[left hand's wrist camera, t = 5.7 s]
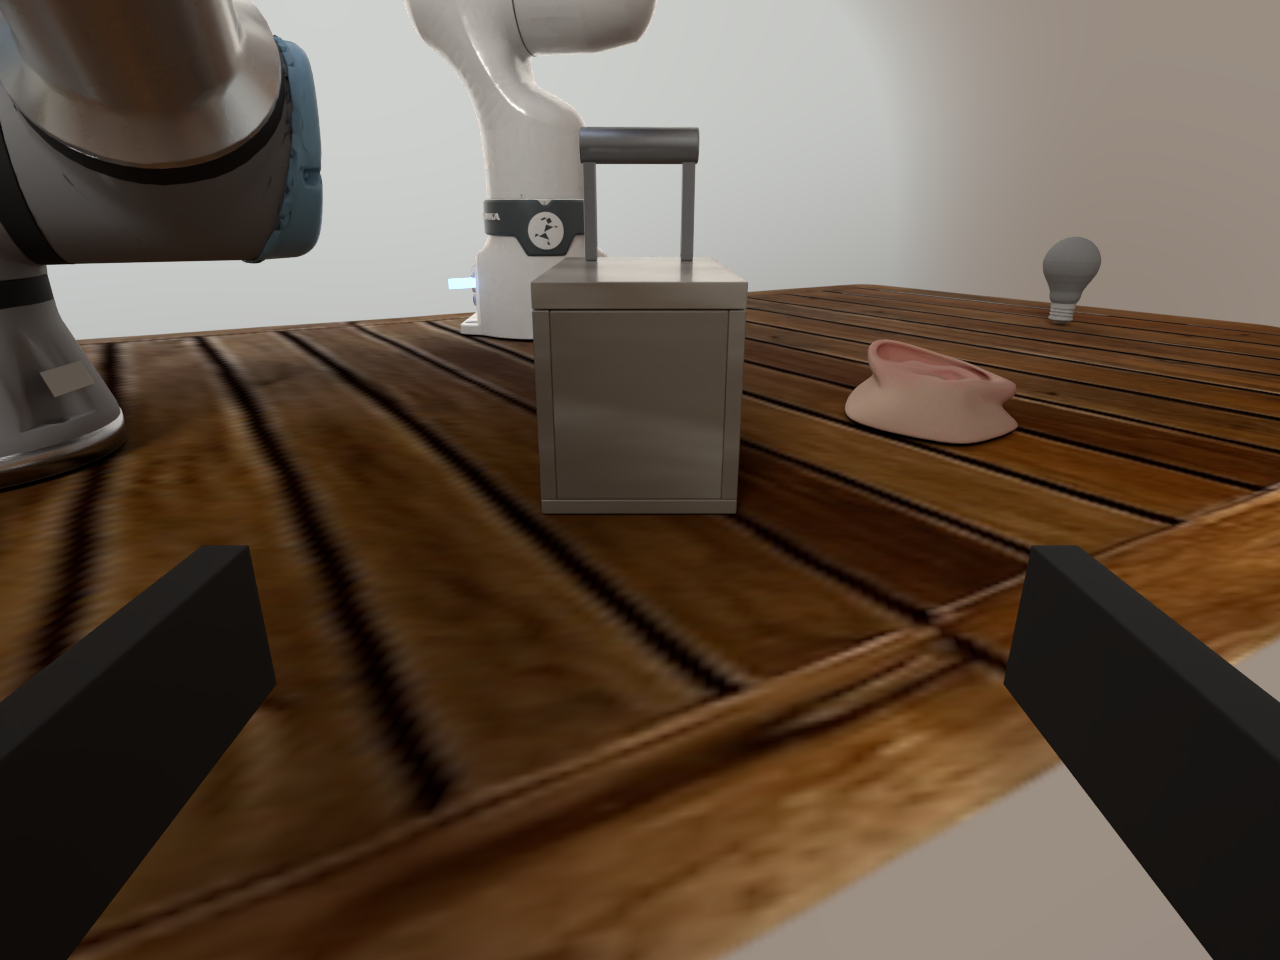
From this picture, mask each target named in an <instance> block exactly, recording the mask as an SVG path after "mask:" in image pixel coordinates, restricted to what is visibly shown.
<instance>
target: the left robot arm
mask: <svg viewBox="0 0 1280 960" xmlns="http://www.w3.org/2000/svg"><path fill="white" fill-rule="evenodd" d="M320 170H321V140H320V128H319V117H318V108H317V100H316V92H315V86H314V81H313V74H312V70H311V66H310V62H309V59H308V57H307V55H306V53H305V52H304V51H303V49H301V48H300V47H299V46H298V45H296V44H295V43H292V42H289V41H284V40H282V39H281V38H279V37H277V36H276V35H274V36H273V35H272V33H271V30H270V28H269V26H268V24H267V22H266V20H265V19H264V17H263V16H262V14H261V13H260V11H259V10H258V8H257V7H256V6H255V5H254V4H253V3H252V2H251V0H0V489H2V488H6V487H11V486H15V485H19V484H23V483H27V482H31V481H35V480H39V479H42V478H46V477H49V476H53V475H56V474H59V473H63V472H66V471H69V470H72V469H75V468H78V467H80V466H83V465H86V464H88V463H91V462H93V461H96V460H98V459H100V458H102V457H104V456H106V455H108V454H110V453H112V452H113V451H115V450H116V449H118V448H119V447H120V446H122V445H123V444H124V443H125V442H126V440H127V438H128V434H127V430H126V426H125V422H124V418H123V414H122V410H121V408H120V407H119V405H118V403H117V401H116V399H115V398H114V396H113V395H112V393H111V392H110V390H109V389H108V387H107V386H106V384H105V383H104V381H103V380H102V378H101V377H100V375H99V374H98V372H97V371H96V369H95V368H94V366H93V365H92V364H91V362H90V361H89V359H88V358H87V356H86V355H85V353H84V352H83V350H82V349H81V347H80V346H79V344H78V343H77V341H76V340H75V338H74V337H73V335H72V334H71V332H70V331H69V329H68V328H67V326H66V325H65V324H64V322H63V321H62V319H61V317H60V315H59V313H58V310H57V307H56V304H55V300H54V297H53V293H52V290H51V286H50V282H49V279H48V275H47V268H46V265H56V264H85V263H130V262H174V261H218V260H242V261H244V262H246V263H260V262H262V261H264V260H265V259H276V258H289V257H298V256H302V255H304V254H306V253H308V252H309V251H310V250H311V249H312V248H313V247H314V246H315V244H316V243H317V241H318V238H319V235H320V230H321V223H322V203H323V195H322V179H321V175H320ZM275 685H276V679H275V674H274V669H273V664H272V659H271V654H270V650H269V645H268V640H267V635H266V630H265V625H264V620H263V615H262V610H261V605H260V600H259V595H258V590H257V586H256V581H255V576H254V571H253V566H252V561H251V556H250V551H249V546H201V547H200V548H199V549H198V550H196V551H195V552H194V553H192V554H191V555H190V556H188V557H187V558H186V559H185V560H183V561H182V562H181V563H179V564H178V565H177V566H176V567H174V568H173V569H172V570H170V571H169V572H168V573H167V574H165V575H164V576H163V577H161V578H160V579H159V580H158V581H156V582H155V583H154V584H152V585H151V586H150V587H149V588H147V589H146V590H145V591H143V592H142V593H141V594H140V595H138V596H137V597H136V598H134V599H133V600H132V601H130V602H129V603H128V604H127V605H125V606H124V607H123V608H121V609H120V610H119V611H118V612H116V613H115V614H114V615H112V616H111V617H110V618H109V619H107V620H106V621H105V622H103V623H102V624H101V625H100V626H98V627H97V628H96V629H94V630H93V631H92V632H91V633H89V634H88V635H87V636H85V637H84V638H83V639H81V640H80V641H79V642H78V643H76V644H75V645H74V646H72V647H71V648H70V649H69V650H67V651H66V652H65V653H63V654H62V655H61V656H60V657H58V658H57V659H56V660H54V661H53V662H52V663H51V664H49V665H48V666H47V667H45V668H44V669H43V670H42V671H40V672H39V673H38V674H36V675H35V676H34V677H33V678H31V679H30V680H29V681H27V682H26V683H25V684H23V685H22V686H21V687H20V688H18V689H17V690H16V691H14V692H13V693H12V694H11V695H9V696H8V697H7V698H5V699H4V700H3V701H2V702H0V960H67V959H68V957H69V956H70V955H71V953H72V952H73V951H74V949H75V948H76V947H77V946H78V944H79V943H80V942H81V940H82V939H83V938H84V936H85V935H86V934H87V932H88V931H89V930H90V928H91V927H92V926H93V925H94V923H95V922H96V921H97V919H98V918H99V917H100V915H101V914H102V913H103V911H104V910H105V909H106V907H107V906H108V905H109V903H110V902H111V901H112V900H113V898H114V897H115V896H116V894H117V893H118V892H119V890H120V889H121V888H122V886H123V885H124V884H125V882H126V881H127V880H128V879H129V877H130V876H131V875H132V873H133V872H134V871H135V869H136V868H137V867H138V865H139V864H140V863H141V861H142V860H143V859H144V857H145V856H146V855H147V854H148V852H149V851H150V850H151V848H152V847H153V846H154V844H155V843H156V842H157V840H158V839H159V838H160V836H161V835H162V834H163V833H164V831H165V830H166V829H167V827H168V826H169V825H170V823H171V822H172V821H173V819H174V818H175V817H176V815H177V814H178V813H179V811H180V810H181V809H182V808H183V806H184V805H185V804H186V802H187V801H188V800H189V798H190V797H191V796H192V794H193V793H194V792H195V790H196V789H197V788H198V787H199V785H200V784H201V783H202V781H203V780H204V779H205V777H206V776H207V775H208V773H209V772H210V771H211V769H212V768H213V767H214V765H215V764H216V763H217V762H218V760H219V759H220V758H221V756H222V755H223V754H224V752H225V751H226V750H227V748H228V747H229V746H230V744H231V743H232V742H233V741H234V739H235V738H236V737H237V735H238V734H239V733H240V731H241V730H242V729H243V727H244V726H245V725H246V723H247V722H248V721H249V719H250V718H251V717H252V716H253V714H254V713H255V712H256V710H257V709H258V708H259V706H260V705H261V704H262V702H263V701H264V700H265V698H266V697H267V696H268V695H269V693H270V692H271V691H272V689H273V688H274V687H275ZM1004 685H1005V687H1006V688H1007V689H1008V691H1009V692H1010V693H1011V695H1012V696H1013V697H1014V698H1015V700H1016V701H1017V702H1018V704H1019V705H1020V706H1021V708H1022V709H1023V710H1024V712H1025V713H1026V714H1027V716H1028V717H1029V718H1030V719H1031V721H1032V722H1033V723H1034V725H1035V726H1036V727H1037V729H1038V730H1039V731H1040V733H1041V734H1042V735H1043V737H1044V738H1045V739H1046V741H1047V742H1048V743H1049V744H1050V746H1051V747H1052V748H1053V750H1054V751H1055V752H1056V754H1057V755H1058V756H1059V758H1060V759H1061V760H1062V762H1063V763H1064V764H1065V765H1066V767H1067V768H1068V769H1069V771H1070V772H1071V773H1072V775H1073V776H1074V777H1075V779H1076V780H1077V781H1078V783H1079V784H1080V785H1081V786H1082V788H1083V789H1084V790H1085V792H1086V793H1087V794H1088V796H1089V797H1090V798H1091V800H1092V801H1093V802H1094V804H1095V805H1096V806H1097V808H1098V809H1099V810H1100V811H1101V813H1102V814H1103V815H1104V817H1105V818H1106V819H1107V821H1108V822H1109V823H1110V825H1111V826H1112V827H1113V829H1114V830H1115V831H1116V833H1117V834H1118V835H1119V836H1120V838H1121V839H1122V840H1123V842H1124V843H1125V844H1126V846H1127V847H1128V848H1129V850H1130V851H1131V852H1132V854H1133V855H1134V856H1135V857H1136V859H1137V860H1138V861H1139V863H1140V864H1141V865H1142V867H1143V868H1144V869H1145V871H1146V872H1147V873H1148V875H1149V876H1150V877H1151V878H1152V880H1153V881H1154V882H1155V884H1156V885H1157V886H1158V888H1159V889H1160V890H1161V892H1162V893H1163V894H1164V896H1165V897H1166V898H1167V900H1168V901H1169V902H1170V903H1171V905H1172V906H1173V907H1174V909H1175V910H1176V911H1177V913H1178V914H1179V915H1180V917H1181V918H1182V919H1183V921H1184V922H1185V923H1186V925H1187V926H1188V927H1189V928H1190V930H1191V931H1192V932H1193V934H1194V935H1195V936H1196V938H1197V939H1198V940H1199V942H1200V943H1201V944H1202V946H1203V947H1204V948H1205V949H1206V951H1207V952H1208V953H1209V955H1210V956H1211V957H1212V959H1213V960H1280V702H1278V701H1277V700H1276V699H1275V698H1273V697H1272V696H1271V695H1269V694H1268V693H1267V692H1266V691H1264V690H1263V689H1262V688H1260V687H1259V686H1258V685H1257V684H1255V683H1254V682H1253V681H1251V680H1250V679H1249V678H1247V677H1246V676H1245V675H1244V674H1242V673H1241V672H1240V671H1238V670H1237V669H1236V668H1235V667H1233V666H1232V665H1231V664H1229V663H1228V662H1227V661H1226V660H1224V659H1223V658H1222V657H1220V656H1219V655H1218V654H1217V653H1215V652H1214V651H1213V650H1211V649H1210V648H1209V647H1208V646H1206V645H1205V644H1204V643H1202V642H1201V641H1200V640H1199V639H1197V638H1196V637H1195V636H1193V635H1192V634H1191V633H1189V632H1188V631H1187V630H1186V629H1184V628H1183V627H1182V626H1180V625H1179V624H1178V623H1177V622H1175V621H1174V620H1173V619H1171V618H1170V617H1169V616H1168V615H1166V614H1165V613H1164V612H1162V611H1161V610H1160V609H1159V608H1157V607H1156V606H1155V605H1153V604H1152V603H1151V602H1150V601H1148V600H1147V599H1146V598H1144V597H1143V596H1142V595H1140V594H1139V593H1138V592H1137V591H1135V590H1134V589H1133V588H1131V587H1130V586H1129V585H1128V584H1126V583H1125V582H1124V581H1122V580H1121V579H1120V578H1119V577H1117V576H1116V575H1115V574H1113V573H1112V572H1111V571H1110V570H1108V569H1107V568H1106V567H1104V566H1103V565H1102V564H1101V563H1099V562H1098V561H1097V560H1095V559H1094V558H1093V557H1092V556H1090V555H1089V554H1088V553H1086V552H1085V551H1084V550H1082V549H1081V548H1080V547H1079V546H1031V551H1030V556H1029V561H1028V566H1027V571H1026V576H1025V581H1024V586H1023V590H1022V595H1021V600H1020V605H1019V610H1018V615H1017V620H1016V625H1015V630H1014V635H1013V640H1012V645H1011V649H1010V654H1009V659H1008V664H1007V669H1006V674H1005V679H1004Z"/></svg>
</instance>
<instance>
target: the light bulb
mask: <svg viewBox="0 0 1280 960" xmlns="http://www.w3.org/2000/svg"><path fill="white" fill-rule="evenodd" d="M1100 264H1101V256H1100V252H1099V250H1098V248H1097V247H1096V246H1095V244H1094V243H1093V242H1092V241H1090V240H1088V239H1085V238H1081V237H1071V238H1067V239H1064V240H1061V241H1059V242H1058V243H1056V244H1055V245H1054V246H1053V247H1052V248H1051V249H1050V250H1049V251H1048V253H1047V254H1046V256H1045V258H1044V261H1043V273H1044V275H1045V278H1046V280H1047V283H1048V286H1049V289H1050V300H1051V307H1052V308H1051V309H1050V310H1051V312H1049V313H1050V314H1051V315H1049V317H1048V318H1049V319H1050V320H1052V321H1053V322H1055V323H1066V322H1069V321H1071V320H1073V318H1072V316H1074V315H1072V313H1074V312H1073V309H1075V306H1076V303H1077V302H1078V301H1079V299H1080V297H1081V294H1082V292H1083V290H1084V289H1085V288H1086V286H1087V285H1088V284H1089V283H1090V282H1091V280H1092V279H1093V278H1094V277H1095V275H1096V274H1097V272H1098V270H1099V268H1100Z"/></svg>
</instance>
